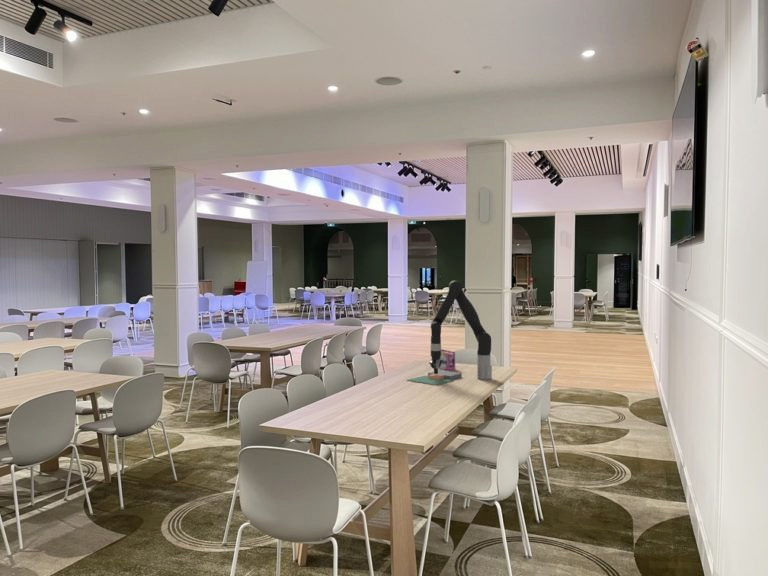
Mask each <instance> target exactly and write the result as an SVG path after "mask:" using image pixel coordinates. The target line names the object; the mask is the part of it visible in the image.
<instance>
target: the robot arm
mask: <svg viewBox="0 0 768 576" xmlns="http://www.w3.org/2000/svg"><path fill="white" fill-rule="evenodd" d="M455 300H456V302H457V305H458V308H459V309H460V311H461V314H462V315H463V317H464V319H465V321H466V322H467V324H468V325H469V326H470V328H471V329H472V331H473V334H474V336H475V339H476V341H477V343H478V345H477V347H478V348H477V352H476V353H477V359H476V360H477V361H476V363H477V379H478V380H483V381H484V380H485V381H488V380H492V379H493V371H492V370H493V367H492V366H493V365H491V352H492V336H491V335H490V333H488V332H487V331H486V330H485V329H484V328H485V327H483V326H482V323H481V321H480V318H479V315H478V312H477V311H476V308H475V307H474V305H473V303H472V302H471V301H470V300H469V298H467V296H466V294H465V292H464V290H463V284H462V283H461V281H459V280H452V281H450V282H449V283H448V293H447V295H446V297H445V299H444V300H443V301H442V303H441V305H440V306H439V308H438V310H437V312H436V314H435V317H434V318H433V320H432V322H431V323H430V329H431V333H430V334H431V336H430V357H431V361H429V363H428V364H429V365H430V367H431V368H432V369H433V372H434V374H438V370H439V369H440V368H439V367H440V366H441V363H442V360H441V359H440V357H441V349H442V338H441V337H442V336H441V333H442V324H443V323H444V321H445V320H446V319H447V316H448V314H449V313H450V310H451V308H452V306H453V304H454V301H455Z"/></svg>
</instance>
